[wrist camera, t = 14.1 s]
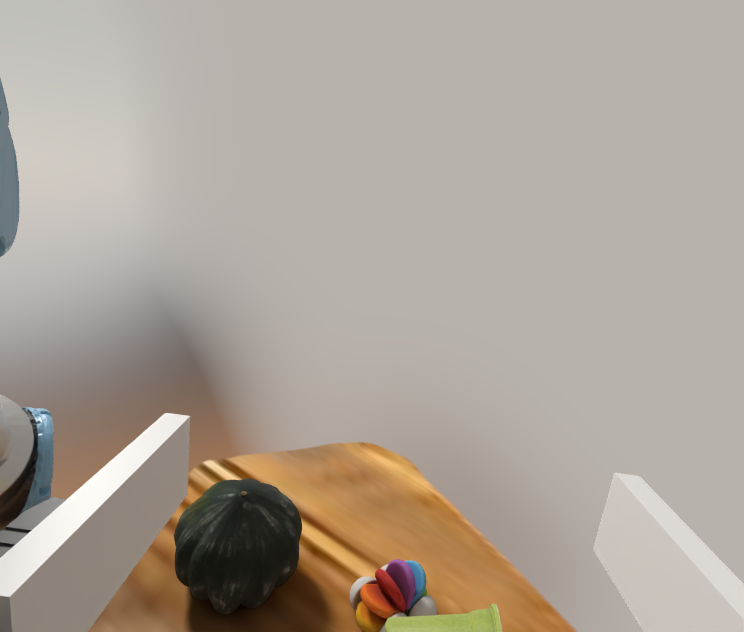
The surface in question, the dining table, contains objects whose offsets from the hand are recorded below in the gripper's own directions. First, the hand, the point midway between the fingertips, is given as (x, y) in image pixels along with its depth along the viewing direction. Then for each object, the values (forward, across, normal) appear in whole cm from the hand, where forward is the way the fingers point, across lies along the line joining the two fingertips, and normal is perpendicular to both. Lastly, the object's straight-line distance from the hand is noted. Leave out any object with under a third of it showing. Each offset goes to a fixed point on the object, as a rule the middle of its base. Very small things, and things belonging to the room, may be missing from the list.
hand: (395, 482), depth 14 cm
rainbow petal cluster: (+31, +5, -38) cm, 50 cm away
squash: (+34, -14, -38) cm, 53 cm away
